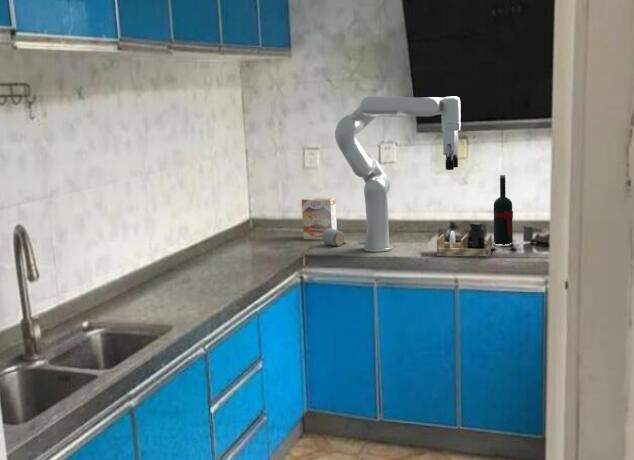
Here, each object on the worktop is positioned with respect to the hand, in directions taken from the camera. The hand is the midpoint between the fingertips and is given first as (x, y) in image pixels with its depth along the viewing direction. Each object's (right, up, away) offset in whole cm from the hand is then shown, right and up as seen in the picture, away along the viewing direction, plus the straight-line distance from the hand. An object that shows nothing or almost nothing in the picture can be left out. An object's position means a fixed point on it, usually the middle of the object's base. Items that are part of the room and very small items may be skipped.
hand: (451, 168), depth 298 cm
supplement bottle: (+9, -35, -5) cm, 36 cm away
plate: (0, -35, -2) cm, 35 cm away
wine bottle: (+24, -32, +8) cm, 41 cm away
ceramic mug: (-48, -33, +28) cm, 64 cm away
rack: (+5, -35, -3) cm, 36 cm away
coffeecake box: (-54, -30, +46) cm, 77 cm away
